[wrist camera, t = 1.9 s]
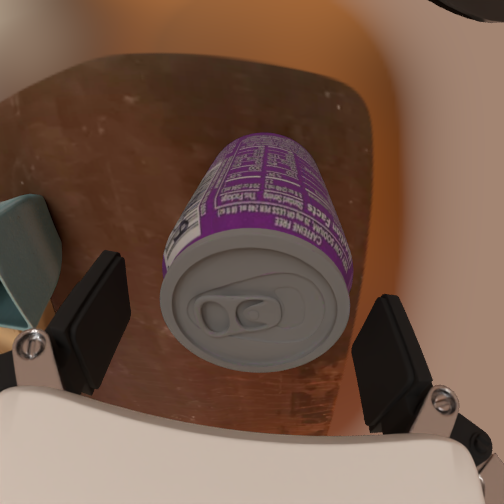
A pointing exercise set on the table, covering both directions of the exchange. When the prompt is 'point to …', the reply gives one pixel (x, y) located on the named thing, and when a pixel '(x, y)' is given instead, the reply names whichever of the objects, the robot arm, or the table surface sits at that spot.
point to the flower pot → (27, 261)
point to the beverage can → (258, 261)
